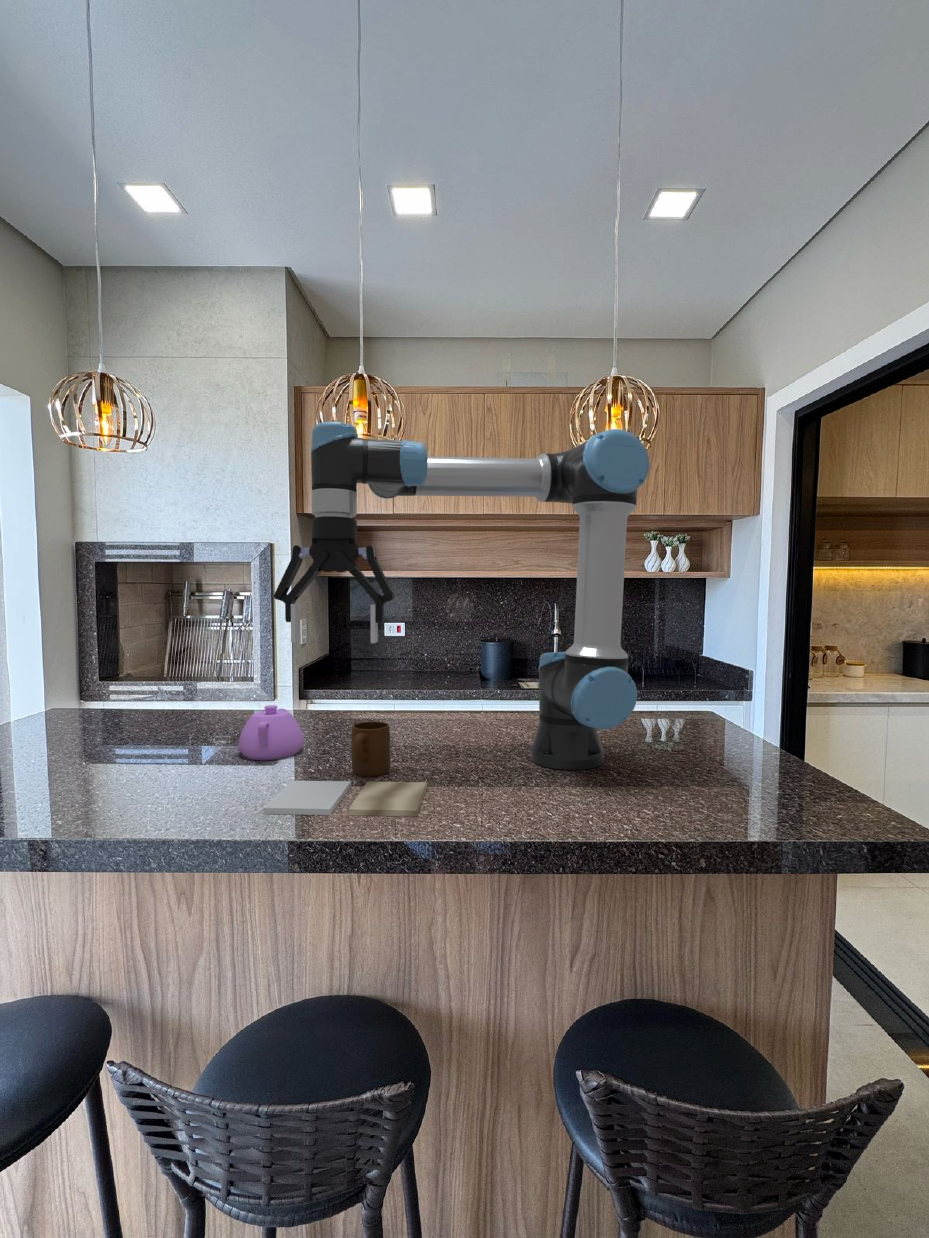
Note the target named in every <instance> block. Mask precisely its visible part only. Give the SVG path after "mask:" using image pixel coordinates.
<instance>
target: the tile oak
mask: <svg viewBox="0 0 929 1238" xmlns="http://www.w3.org/2000/svg"><path fill="white" fill-rule="evenodd" d="M427 787H428V785H427V782H426V781H425V782H423V781H422V782H421V781H420V782H419V781H418V782H417V781H416V782H415V781H414V782H413V781H410V782H409V781H408V782H407V781H367V782H366V783H365V784H364V785H363V786H362V788H361V790H360V792H359V793H358V794H357V796H356V797H355V799H354V800H353V802H352V803H351V805H349V808H348V811H347V812H348V816H356V817H357V816H359V817H361V816H362V817H363V816H364V817H367V816H369V817H371V816H372V817H417V816H418V813H419V810H420V808H421V805H422V801H423V799H424V797H425V793H426V791H427Z"/></svg>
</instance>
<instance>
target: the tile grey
mask: <svg viewBox="0 0 929 1238" xmlns="http://www.w3.org/2000/svg"><path fill="white" fill-rule="evenodd" d="M351 787H352V781H350V780H349V781H344V780H342V781H341V780H340V781H339V780H291V782H289V784H287V785H286V786H285V787H284V788H283V789H282V790H281V791H279V792H278V793H277V795H275V796H274V797H273V798H272V799H270V801H269V802H268V803H267V804H266V805H265V806H263V810H262V813H263V815H297V816H298V815H299V816H301V815H306V816H308V815H309V816H311V815H312V816H331V815H332V813H333V812H334V811H335V809H336V808H337V806H338V805H339V804H340V802H342V800H343V798H344V797H345V796H346V794H347V793H348V792H349V790H350V789H351Z"/></svg>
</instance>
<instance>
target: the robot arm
mask: <svg viewBox="0 0 929 1238" xmlns="http://www.w3.org/2000/svg"><path fill="white" fill-rule="evenodd" d="M311 432H312V433H311V449H310V460H311V461H310V463H311V464H310V465H311V468H310V471H311V514H312V515H313V516H314V517H313V518H312V519H311V545H310V547H305V546H302V545H297V544H296V545H293V547H292V552H291V553H292V554H291V559H290V561H289V563H288V565H287V567H286V569H285V572H284V573H283V575H282V576H281V577H282V578H281V579H280V580H279V584H278V586H277V588H276V590H275V591H274V594H273V598H274V599H275V600H277V601H281V602H283V603H284V606H285V607H284V609H285V611H284V613H285V615H284V618H285V619H284V620H285V623H290V643H297V642H300V641H301V603H297V600H298V599H299V598H300V597H301V596H302V594H303V593H304V591H306V590H307V588H308V587H309V586H310V584H311V583H312V582H313V581H314V580H315V579H316V577H317V576H319V574H320V573H322V572H323V573H334V572H336V573H345V572H349V574H350V575H352V577H353V578H354V579H355V581H357V583H358V584H359V585H360V586H361V587H362V589H363V590H364V591H365V593H366V594H368V595H369V597H370V598H371V599H372V600H373V601H374V604H370V644H376V643H378V642H379V626H378V625H379V624H382V623H384V622H385V621H384V620H385V604H386V603H388V602H391V601H393V600H395V593H394V591H393V590H392V587H391V585H390V583H389V582H388V580H387V578H386V575H385V574H384V572H383V569H382V567H381V565H380V563H379V562H378V559H377V551H376V550H377V549H376V547H374V546H373V545H367V546H365V547H359V545H358V521H357V520H356V519H355V518H354V517H356V516H357V514H358V492H357V491H358V490H357V489H358V487H357V486H358V485H357V484H362V485H368V487H369V489H370V491H371V493H373V494H374V495H375V496H376V497H378V498H381V499H393V498H396V497H412V496H413V497H414V496H417V497H418V496H419V497H420V496H422V497H423V496H429V497H432V496H433V497H439V496H440V497H510V498H511V497H514V498H515V497H519V498H520V497H523V498H536V500H538V501H539V502H541V503H560V504H561V503H563V504H571V505H572V509H573V511H575V512H576V513H577V515H578V517H579V530H578V531H579V532H578V548H577V549H578V551H577V552H578V553H577V571H576V592H575V593H576V594H575V610H574V612H575V616H574V634H573V643H572V645H571V646H570V647H569V648H568V649H566V650H565V651H558V652H557V651H555V652H554V651H551V652H545V653H543V654H541V656H540V657H539V664H538V668H537V669H538V677H539V678H538V682H539V683H538V686H539V687H538V690H539V691H538V693H539V694H538V698H539V700H538V701H539V702H538V703H539V710H538V712H539V717H538V718H539V719H538V720H539V721H538V722H539V723H538V727H537V730H536V732H535V735H534V739H533V741H532V745H531V747H530V748H531V749H530V760H531V762H533V763H534V764H536V765H538V766H542V767H545V768H550V769H554V770H564V771H565V770H567V771H580V770H588V769H594V768H597V767H600V766H602V765H603V763H604V753H605V752H604V749H603V746H602V741H601V739H600V736H599V733H598V730H609V729H613V728H616V727H618V726H620V725H621V724H623V723H624V722H625V721H626V720H627V719H628V718H630V716H631V715H632V713H633V711H634V709H635V707H636V704H637V700H638V689H637V686H636V682H635V680H633V678H632V676H631V675H630V674H629V673H628V672H629V671H628V670H629V669H628V668H629V655H628V653H627V652H626V651H625V650H624V649H623V648H622V646H621V640H622V622H623V605H624V604H623V603H624V602H623V600H624V586H625V585H624V584H625V583H624V582H625V567H626V566H625V564H626V563H625V562H626V543H627V541H626V540H627V529H628V528H627V526H628V524H627V523H628V517H629V516H630V515H631V514H632V513H633V512H634V511H635V510H636V509H637V502H638V501H637V500H638V489H639V488H640V487H641V486H642V485H643V484H644V483H645V481H646V479H647V477H648V475H649V473H650V472H649V471H650V463H651V462H650V457H649V453H648V450H647V449H646V447H645V445H644V444H643V442H641V440H640V439H639V438H638V436H636V435H634V434H633V433H631V432H630V431H627V430H625V429H619V428H618V429H617V428H614V429H613V428H612V429H608V430H604V431H602V432H601V431H600V432H598V433H595V434H594V435H592V436H591V437H590V438H589V439H587V440H586V441H584V442H582V443H580V444H579V445H577V446H575V447H573V448H571V449H568V450H565V451H561V452H555V453H541V454H540V455H538V457H537V458H526V457H525V458H524V457H523V458H521V457H519V458H517V457H514V458H513V457H476V456H475V457H474V456H473V457H467V456H466V457H465V456H463V457H462V456H459V457H458V456H428V449H427V446H426V444H424V443H423V442H419V441H411V440H408V439H404V440H396V439H395V440H394V439H393V440H391V439H378V438H377V439H375V438H374V439H373V438H363V437H359V436H358V431H357V428H356V427H355V426H354V425H353V424H350V423H348V422H346V423H345V422H341V421H324V422H319V423H317V424H316V425H315V426H314V427H313V428H312V431H311ZM308 555H309V556H310V557H311V558H312V560H313V562H312V564H310V566H309V567H308V569H307V571H306V572H305V573H304V574H303V576H302V577H301V578H300V579H299V580H298V582H297V583H295V585H294V587H292V589H291V586H292V584H293V583H294V580H295V578H296V576H297V575H298V572H299V570H300V568H301V567H302V563H303V560H306V559H307V557H308ZM360 555H361V556H362V558H363V559H364V560H367V563H368V565H369V568H370V570H371V571H372V573H373V575H374V578H375V579H376V581H377V583H378V586H379V587H380V590H381V591H382V593H383V595H381V593H380V592H379V591H378V590H377V588H376V587H375V586H374V585H373V584H372V583H371V582H370V580H369V579H368V577H367V576H365V573H363V572H362V570H361V569H360V568H359V567H358V565H357V564H356V563H355V562H356V560H358V557H360Z"/></svg>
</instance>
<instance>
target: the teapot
mask: <svg viewBox="0 0 929 1238" xmlns="http://www.w3.org/2000/svg"><path fill="white" fill-rule="evenodd" d="M263 707H264V710H261V711H257V712H254V713H252V714H251V715H250V717H249V718H248V719H247V721H246V723H245V725H244V726H243V729H242V730H241V733H240V736H239V739H238V750H239V752H240V753H241V754H242V755H243V756H244V757H245V758H247V759H249V760H254V761H256V760H257V761H272V760H274V761H275V760H280V759H281V760H282V759H285V758H290V757H293V756H295V755H297V754H298V752H299V751H300V750H301V749H302V748H303V746H304V744H305V741H304V735H303V734H304V733H303V731H302V728H301V726H300V724H299V723H298V721H297V720H296V718H295V716H293V714H292V713H291V712H290V711H289V710H287V709H286V708H278V705H275V704H271V705H270V704H269V705H265V706H263Z"/></svg>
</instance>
